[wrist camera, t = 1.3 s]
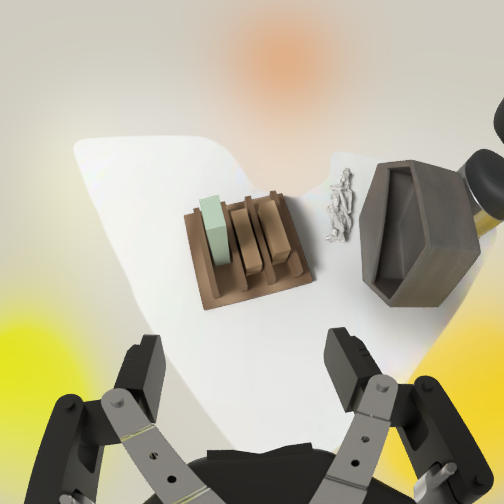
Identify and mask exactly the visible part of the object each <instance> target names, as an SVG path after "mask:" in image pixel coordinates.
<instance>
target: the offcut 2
mask: <svg viewBox="0 0 504 504" xmlns="http://www.w3.org/2000/svg"><path fill="white" fill-rule="evenodd" d="M258 221H259V224H260V228H261V231H262V234H263V237H264V241H265V244H266V247H267V250H268V254H269V257H270V260H271V263H272V266H273V265H277V264H280V263H284V262H286V259H287V257H288V255H289V253H290V251H291V248H290V245H289V242H288V239H287V236H286V233H285V230H284V227H283V224H282V221H281V219H280V216H279V213H278V210H277V207H276V204H275V201H274V200H272V201H267V202H263V203H259V209H258Z"/></svg>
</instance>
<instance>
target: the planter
mask: <svg viewBox="0 0 504 504" xmlns="http://www.w3.org/2000/svg"><path fill="white" fill-rule="evenodd" d="M359 227H360V240H361V255H362V275H363V281H364V282H365V283H366V284H367V285H368V286H369V287H370V288H371V289H372V290H373V291H374V292H375V293H376V294H377V295H378V296H379V297H380V298H381V299H382V300H383V301H384V302H385V303H386V304H387V305H388V306H389V307H439V306H440V304H441V303H442V302H443V301H444V300H445V299H446V297H447V296H448V295H449V294H450V293H451V291H452V290H453V289H454V288H455V287H456V285H457V284H458V283H459V282H460V280H461V279H462V278H463V276H464V275H465V274H466V273H467V271H468V270H469V269H470V267H471V266H472V265H473V263H474V262H475V261H476V259H477V258H478V256H479V255H480V253H481V251H480V245H479V240H478V235H477V230H476V226H475V222H474V217H473V213H472V209H471V206H470V202H469V198H468V195H467V191H466V188H465V185H464V182H463V178H462V175H461V173H458V172H455V171H451V170H448V169H444V168H441V167H438V166H434V165H430V164H426V163H423V162H419V161H415V160H405V161H396V162H387V163H379V164H378V165H377V168H376V171H375V174H374V177H373V180H372V183H371V186H370V189H369V191H368V194H367V197H366V200H365V203H364V205H363V208H362V211H361V214H360V216H359Z"/></svg>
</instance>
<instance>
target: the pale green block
mask: <svg viewBox="0 0 504 504" xmlns="http://www.w3.org/2000/svg"><path fill="white" fill-rule="evenodd" d="M199 202H200V206H201V211H202V215H203V220H204V224H205V229H206V233H207V236H208V240H209V244H210V247H211V251H212V254H213V258H214V262H215V265H216V267H217V266H221V265H225V264H229V263H230V256H229V247H228V238H227V229H226V223H225V219H224V215H223V212H222V208H221V204H220V200H219V196H218V195H217V196H213V197H209V198H204V199H200V200H199Z"/></svg>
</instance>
